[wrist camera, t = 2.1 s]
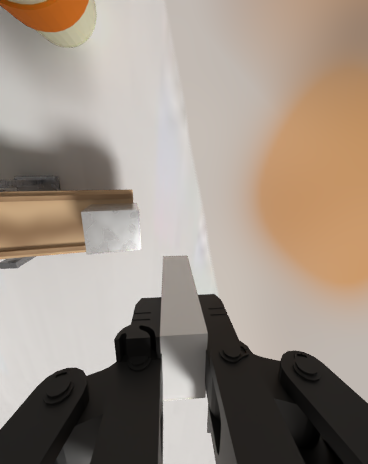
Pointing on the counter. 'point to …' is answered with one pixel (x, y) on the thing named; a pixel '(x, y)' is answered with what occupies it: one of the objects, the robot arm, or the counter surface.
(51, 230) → the balance beam
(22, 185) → the balance stand
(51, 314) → the counter surface
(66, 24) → the reusable coffee cup
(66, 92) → the counter surface
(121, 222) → the block
